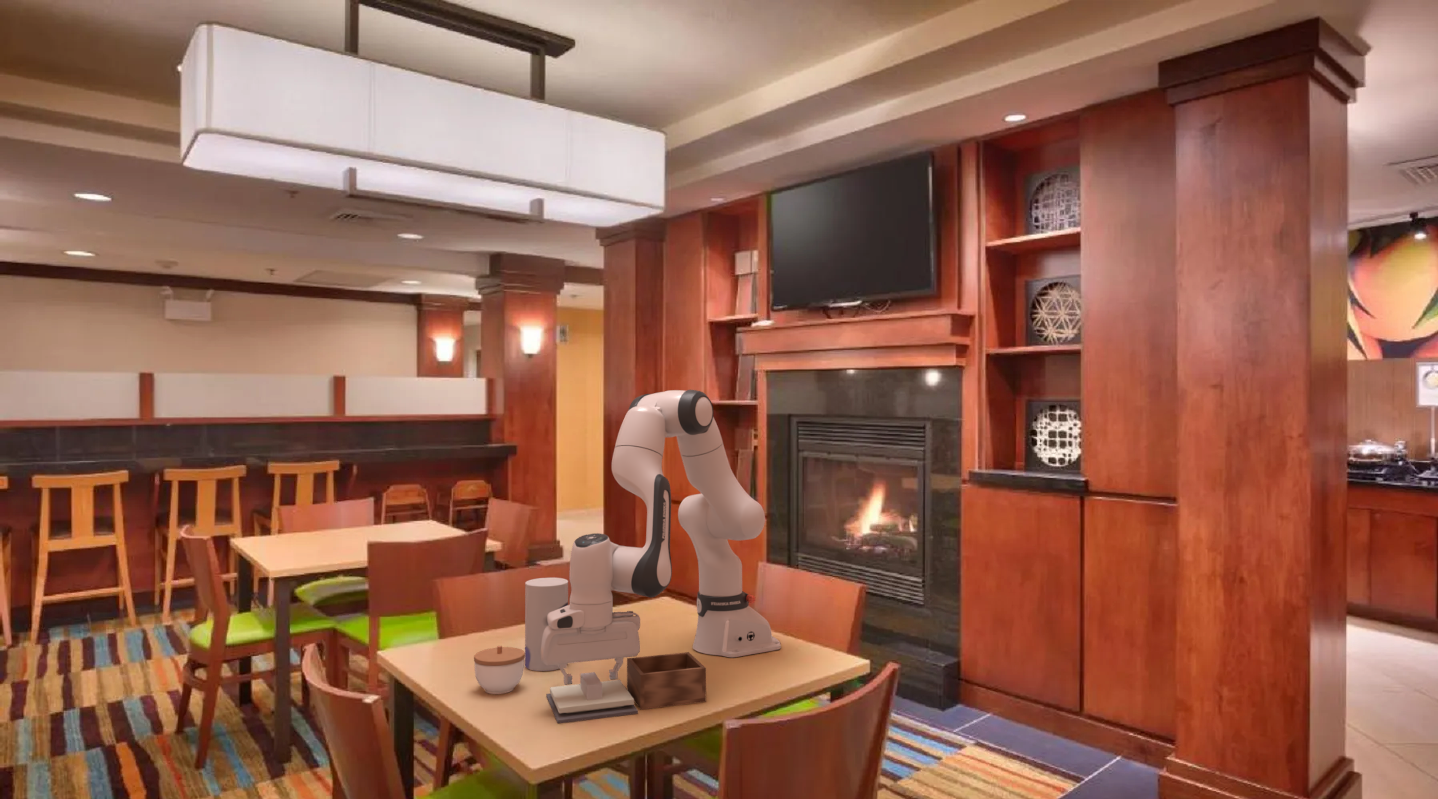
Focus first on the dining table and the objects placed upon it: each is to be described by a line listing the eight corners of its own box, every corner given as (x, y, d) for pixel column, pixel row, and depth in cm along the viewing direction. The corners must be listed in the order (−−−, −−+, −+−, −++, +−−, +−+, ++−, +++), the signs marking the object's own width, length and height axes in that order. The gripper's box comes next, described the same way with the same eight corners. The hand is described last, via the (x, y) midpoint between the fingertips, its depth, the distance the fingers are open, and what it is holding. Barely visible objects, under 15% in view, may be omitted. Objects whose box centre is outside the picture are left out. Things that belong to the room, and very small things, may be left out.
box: (688, 683, 184) (688, 652, 184) (705, 701, 173) (705, 667, 173) (627, 690, 179) (627, 658, 180) (640, 709, 168) (640, 674, 168)
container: (558, 673, 192) (558, 586, 192) (517, 670, 194) (518, 584, 194) (574, 660, 201) (574, 577, 202) (535, 657, 203) (536, 576, 204)
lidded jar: (479, 682, 185) (479, 640, 185) (528, 681, 186) (528, 639, 186) (468, 698, 174) (469, 654, 175) (520, 697, 175) (520, 652, 176)
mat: (620, 688, 181) (620, 685, 181) (638, 713, 166) (638, 710, 166) (546, 696, 176) (546, 693, 176) (557, 723, 161) (557, 720, 161)
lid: (619, 688, 179) (619, 665, 180) (634, 708, 167) (634, 684, 167) (549, 695, 174) (549, 673, 175) (559, 717, 162) (559, 692, 162)
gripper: (636, 606, 178) (636, 671, 177) (539, 614, 171) (539, 682, 171) (643, 613, 172) (643, 680, 171) (543, 622, 165) (543, 691, 165)
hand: (591, 681), depth 171 cm, fingers open, 8 cm apart
